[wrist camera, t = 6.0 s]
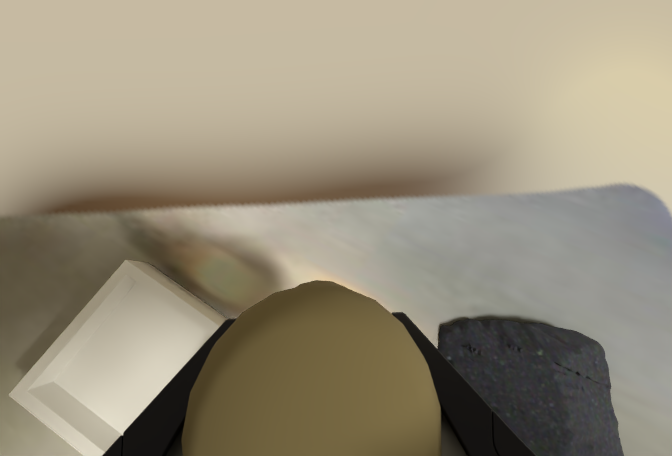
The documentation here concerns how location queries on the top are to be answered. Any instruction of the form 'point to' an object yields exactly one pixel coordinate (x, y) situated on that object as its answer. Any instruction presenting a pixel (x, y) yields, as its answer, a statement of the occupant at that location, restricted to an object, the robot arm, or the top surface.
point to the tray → (116, 357)
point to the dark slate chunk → (538, 383)
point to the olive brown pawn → (314, 382)
